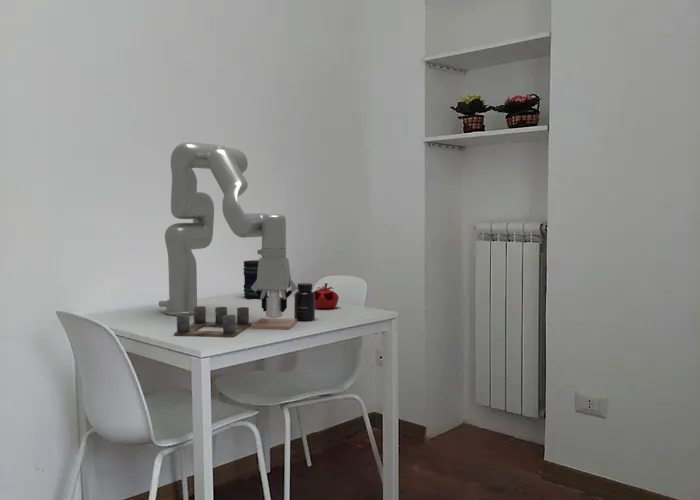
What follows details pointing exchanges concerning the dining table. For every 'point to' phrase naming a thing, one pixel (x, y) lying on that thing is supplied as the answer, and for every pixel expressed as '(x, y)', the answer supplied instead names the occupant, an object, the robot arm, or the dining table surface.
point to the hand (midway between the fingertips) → (274, 310)
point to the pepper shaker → (273, 304)
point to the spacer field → (213, 323)
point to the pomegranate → (325, 298)
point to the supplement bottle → (304, 303)
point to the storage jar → (250, 279)
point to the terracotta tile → (274, 323)
